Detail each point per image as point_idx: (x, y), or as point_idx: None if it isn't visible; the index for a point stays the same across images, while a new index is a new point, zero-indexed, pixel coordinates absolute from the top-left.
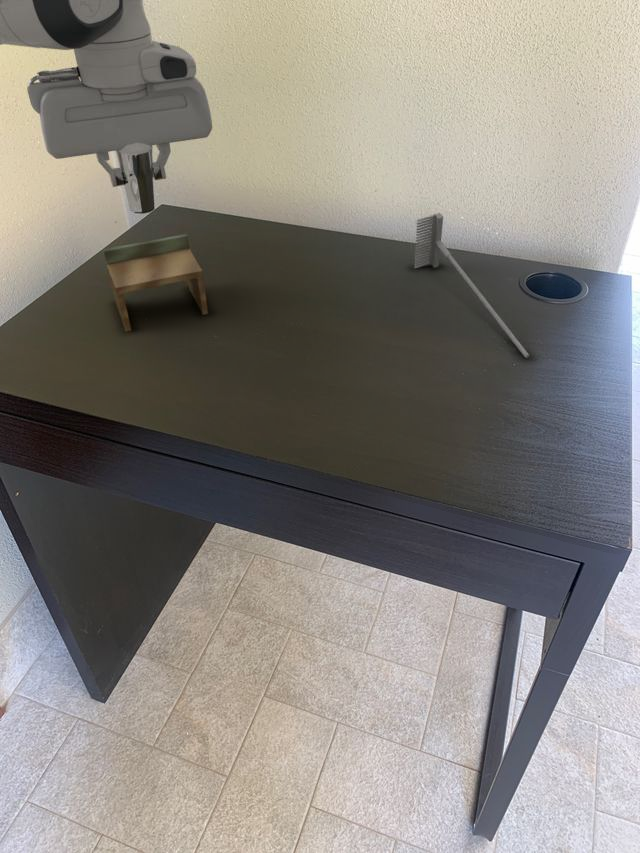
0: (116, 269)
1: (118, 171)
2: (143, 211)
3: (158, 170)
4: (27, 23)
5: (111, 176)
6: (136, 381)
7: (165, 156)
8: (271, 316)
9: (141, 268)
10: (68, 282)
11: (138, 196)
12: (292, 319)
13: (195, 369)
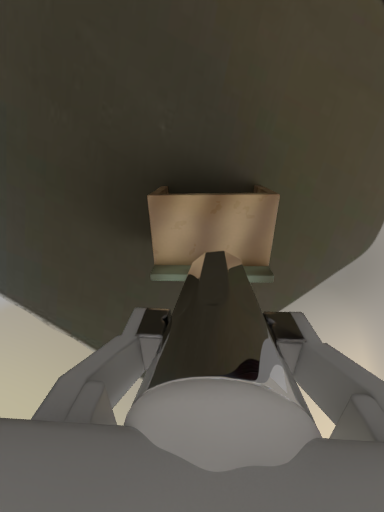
0: (261, 247)
1: (285, 351)
2: (220, 252)
3: (147, 325)
4: None
5: (315, 335)
6: (285, 49)
7: (95, 362)
8: (88, 148)
9: (228, 236)
10: (284, 305)
11: (230, 269)
12: (63, 128)
13: (204, 47)
